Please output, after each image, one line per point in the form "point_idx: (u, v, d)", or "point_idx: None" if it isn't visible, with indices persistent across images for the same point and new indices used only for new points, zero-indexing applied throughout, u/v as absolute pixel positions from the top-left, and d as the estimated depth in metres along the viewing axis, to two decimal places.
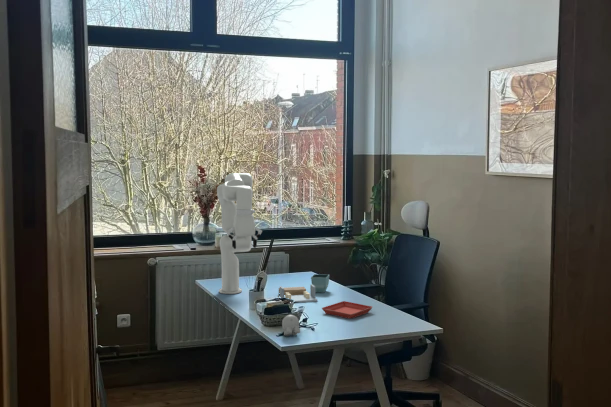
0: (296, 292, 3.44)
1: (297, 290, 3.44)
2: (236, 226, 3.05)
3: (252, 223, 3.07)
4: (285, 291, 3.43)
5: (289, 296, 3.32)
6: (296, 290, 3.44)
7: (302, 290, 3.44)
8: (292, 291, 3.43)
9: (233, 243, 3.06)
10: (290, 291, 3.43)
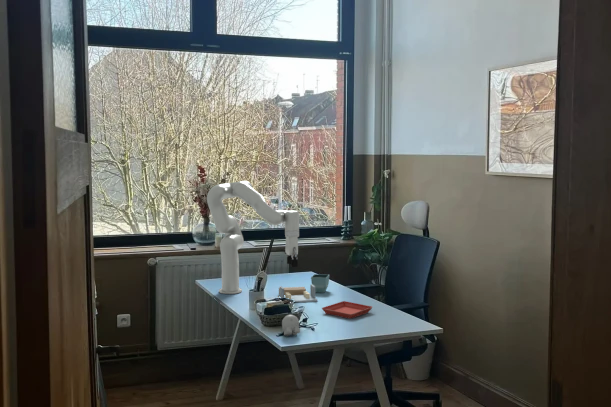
0: (296, 292, 3.44)
1: (297, 290, 3.44)
2: (297, 246, 3.41)
3: None
4: (285, 291, 3.43)
5: (289, 296, 3.32)
6: (296, 290, 3.44)
7: (302, 290, 3.44)
8: (292, 291, 3.43)
9: (296, 262, 3.40)
10: (289, 291, 3.43)
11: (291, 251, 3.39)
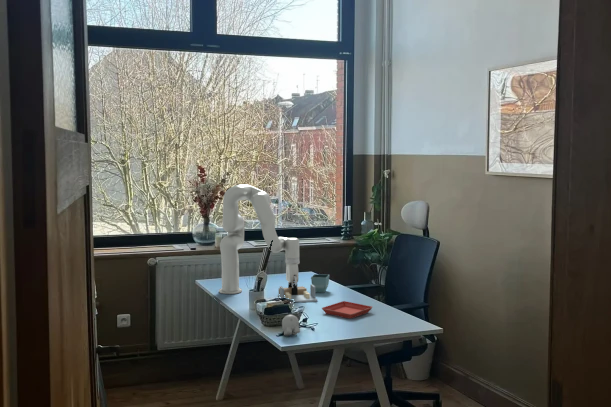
0: None
1: (298, 290, 3.44)
2: None
3: None
4: (286, 291, 3.42)
5: (289, 296, 3.32)
6: None
7: (303, 290, 3.45)
8: None
9: (296, 290, 3.42)
10: (291, 291, 3.43)
11: (291, 278, 3.40)
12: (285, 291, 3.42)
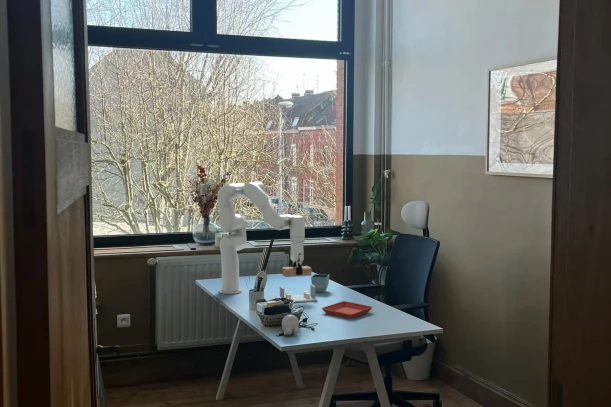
0: None
1: (302, 269, 3.32)
2: None
3: None
4: (290, 270, 3.30)
5: (289, 296, 3.32)
6: None
7: (307, 269, 3.33)
8: None
9: (301, 269, 3.31)
10: (295, 270, 3.31)
11: (296, 257, 3.29)
12: (289, 270, 3.30)
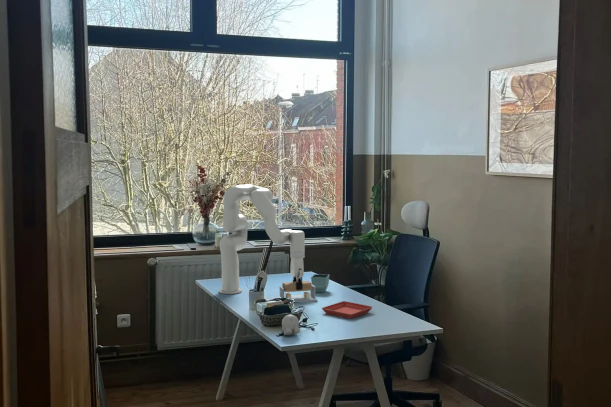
0: None
1: (302, 284, 3.33)
2: None
3: None
4: (290, 285, 3.31)
5: (289, 296, 3.32)
6: None
7: (307, 284, 3.34)
8: None
9: (301, 285, 3.32)
10: (295, 285, 3.32)
11: (296, 272, 3.30)
12: (289, 285, 3.31)
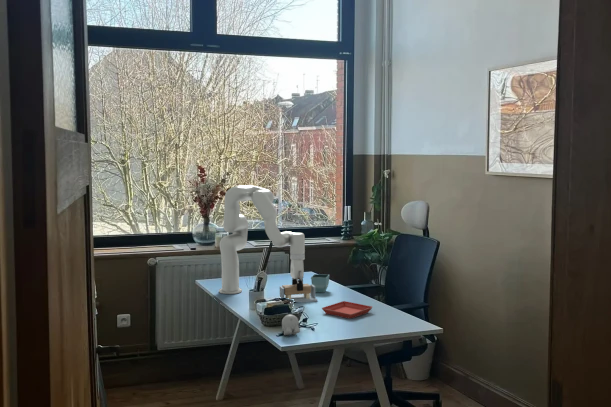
0: None
1: None
2: None
3: None
4: (290, 288, 3.31)
5: (289, 296, 3.32)
6: None
7: (307, 287, 3.34)
8: None
9: (301, 286, 3.30)
10: (295, 288, 3.32)
11: (296, 275, 3.30)
12: (288, 288, 3.31)
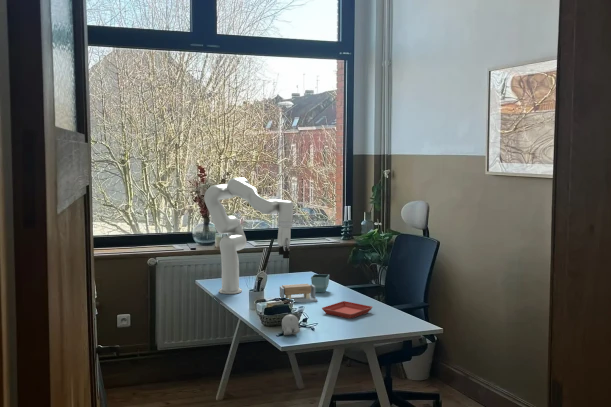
0: (301, 289, 3.33)
1: (302, 287, 3.33)
2: (290, 237, 3.33)
3: None
4: (290, 288, 3.31)
5: (289, 296, 3.32)
6: (301, 287, 3.33)
7: (307, 287, 3.34)
8: (297, 288, 3.33)
9: (288, 253, 3.33)
10: (295, 288, 3.32)
11: (283, 242, 3.32)
12: (288, 288, 3.31)
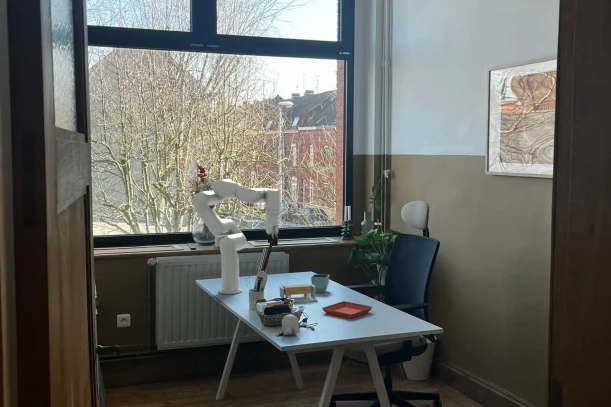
0: (301, 289, 3.33)
1: (302, 287, 3.33)
2: None
3: None
4: (290, 288, 3.31)
5: (289, 296, 3.32)
6: (301, 287, 3.33)
7: (307, 287, 3.34)
8: (297, 288, 3.33)
9: (276, 240, 3.35)
10: (295, 288, 3.32)
11: (271, 230, 3.34)
12: (288, 288, 3.31)
